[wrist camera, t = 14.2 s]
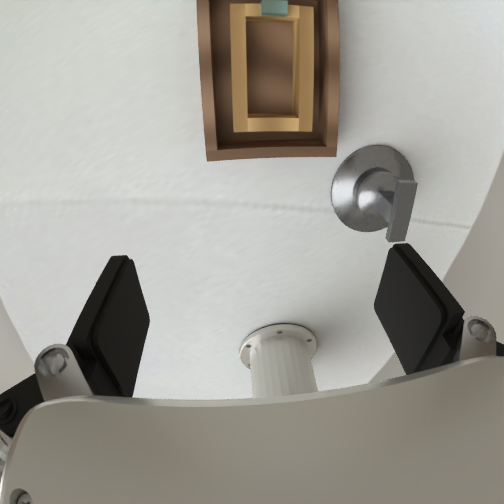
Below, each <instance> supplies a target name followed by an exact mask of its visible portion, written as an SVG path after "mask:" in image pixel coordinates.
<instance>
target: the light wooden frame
mask: <svg viewBox="0 0 504 504" xmlns="http://www.w3.org/2000/svg"><path fill="white" fill-rule="evenodd" d="M246 22H282V23H292V33H293V98H292V114H287V113H260V114H248V111H247V64H246ZM230 34H231V73H232V106H233V131H234V132H257V131H305V132H312V122H313V88H314V12H313V7H308V6H297V5H288V1H284V0H262V1H261V4H230Z"/></svg>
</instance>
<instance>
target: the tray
mask: <svg viewBox="0 0 504 504" xmlns="http://www.w3.org/2000/svg"><path fill="white" fill-rule="evenodd" d="M261 1H262V0H197V25H198V46H199V64H200V80H201V95H202V109H203V121H204V134H205V145H206V157H207V161H220V160H234V159H251V158H275V157H336V153H337V136H338V114H339V15H338V0H284V1H288V5H297V6H308V7H313V12H314V88H313V122H312V132H305V131H257V132H234V131H233V106H232V73H231V34H230V4H261ZM246 64H247V111H248V114H260V113H287V114H292V98H293V33H292V23H282V22H246Z"/></svg>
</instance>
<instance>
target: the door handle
mask: <svg viewBox="0 0 504 504" xmlns="http://www.w3.org/2000/svg"><path fill="white" fill-rule="evenodd" d="M417 184H418V183H416V182H415V181H414V177H413V172H412V169H411V167H410V165H409V163H408V161H407V160H406V159H405V157H404V156H403V155H402V154H400V153H399V152H397V151H396V150H394V149H392V148H390V147H387V146H381V145H373V146H367V147H364V148H362V149H359V150H357V151H356V152H354V153H352V154H351V155H350V156H349V157H347V158H346V159H345V161H344V162H343V163H342V164H341V165H340V167H339V168H338V170H337V172H336V174H335V176H334V179H333V182H332V187H331V201H332V205H333V208H334V211H335V213H336V214H337V216H338V218H339V219H340V220H341V221H342V222H343V223H344V224H345V225H346V226H348V227H349V228H351V229H354V230H357V231H361V232H373V231H377V230H381V229H383V228H385V227H387V226H388V229H387V234H386V239H387V241H388V242H399V241H405V237H406V234H407V230H408V225H409V221H410V217H411V213H412V208H413V203H414V199H415V194H416V189H417Z"/></svg>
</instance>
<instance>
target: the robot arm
mask: <svg viewBox="0 0 504 504" xmlns="http://www.w3.org/2000/svg"><path fill="white" fill-rule="evenodd" d="M374 309H375V312H376V314H377V316H378V318H379V320H380V322H381V324H382V325H383V327H384V329H385V331H386V333H387V335H388V337H389V339H390V342H391V344H392V346H393V348H394V350H395V352H396V354H397V356H398V358H399V360H400V362H401V364H402V366H403V369H404V371H405V373H406V375H405V376H401V377H397V378H392V379H388V380H383V381H379V382H374V383H369V384H363V385H358V386H352V387H347V388H341V389H334V390H328V391H321V392H318V388H317V384H316V380H315V376H314V372H313V367H312V363H311V358H312V357H313V356H314V354H315V352H316V349H317V344H316V340H315V337H314V335H313V334H312V333H311V332H310V331H309V330H307V329H306V328H303V327H301V326H297V325H291V324H279V325H272V326H268V327H265V328H262V329H259V330H257V331H255V332H254V333H252V334H250V335H249V336H248V337H247V338H246V339H245V340H244V341H243V342H242V344H241V347H240V359H241V361H242V363H243V364H244V365H245V366H246V367H247V368H249V369H251V381H252V393H253V398H248V399H224V400H176V399H147V398H132V396H133V392H134V387H135V383H136V378H137V373H138V369H139V365H140V360H141V356H142V352H143V348H144V343H145V339H146V335H147V331H148V328H149V323H150V318H149V313H148V310H147V307H146V303H145V300H144V297H143V293H142V290H141V286H140V283H139V279H138V276H137V272H136V268H135V264H134V261H133V260H132V259H129V258H128V256H126V255H123V256H112V257H111V258H110V259H109V261H108V263H107V265H106V266H105V268H104V270H103V272H102V274H101V276H100V277H99V279H98V281H97V283H96V285H95V287H94V289H93V290H92V292H91V294H90V296H89V298H88V300H87V302H86V304H85V306H84V308H83V310H82V312H81V314H80V316H79V318H78V320H77V322H76V324H75V326H74V328H73V331H72V333H71V335H70V337H69V339H68V342H67V344H66V345H63V344H53V345H51V346H48V347H47V348H45V349H44V350H42V351H41V353H40V354H39V355H38V357H37V358H36V360H35V365H34V368H35V374H33V375H31V376H30V377H28V378H27V379H25V380H23V381H22V382H20V383H18V384H17V385H15V386H13V387H12V388H10V389H8V390H7V391H5V392H3V393H2V394H1V395H0V504H504V345H503V344H501V343H499V342H497V341H496V332H495V330H494V328H493V326H492V325H491V324H490V323H489V322H488V321H486V320H485V319H483V318H481V317H478V316H470V317H468V318H467V319H466V320H465V321H464V320H463V318H462V317H463V314H464V313H465V311H464V310H463V309H462V307H461V306H460V305H459V303H458V302H457V301H456V299H455V298H454V297H453V296H452V294H451V293H450V292H449V290H448V289H447V288H446V287H445V285H444V284H443V283H442V282H441V280H440V279H439V278H438V277H437V275H436V274H435V273H434V272H433V271H432V269H431V268H430V267H429V266H428V265H427V264H426V262H425V261H424V260H423V259H422V258H421V257H420V255H419V254H418V253H417V252H416V251H415V250H414V249H413V247H412V246H411V245H410V244H408V243H403V244H394V245H393V247H392V248H390V249H389V252H388V256H387V260H386V263H385V267H384V271H383V274H382V278H381V282H380V285H379V289H378V292H377V295H376V299H375V302H374Z"/></svg>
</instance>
